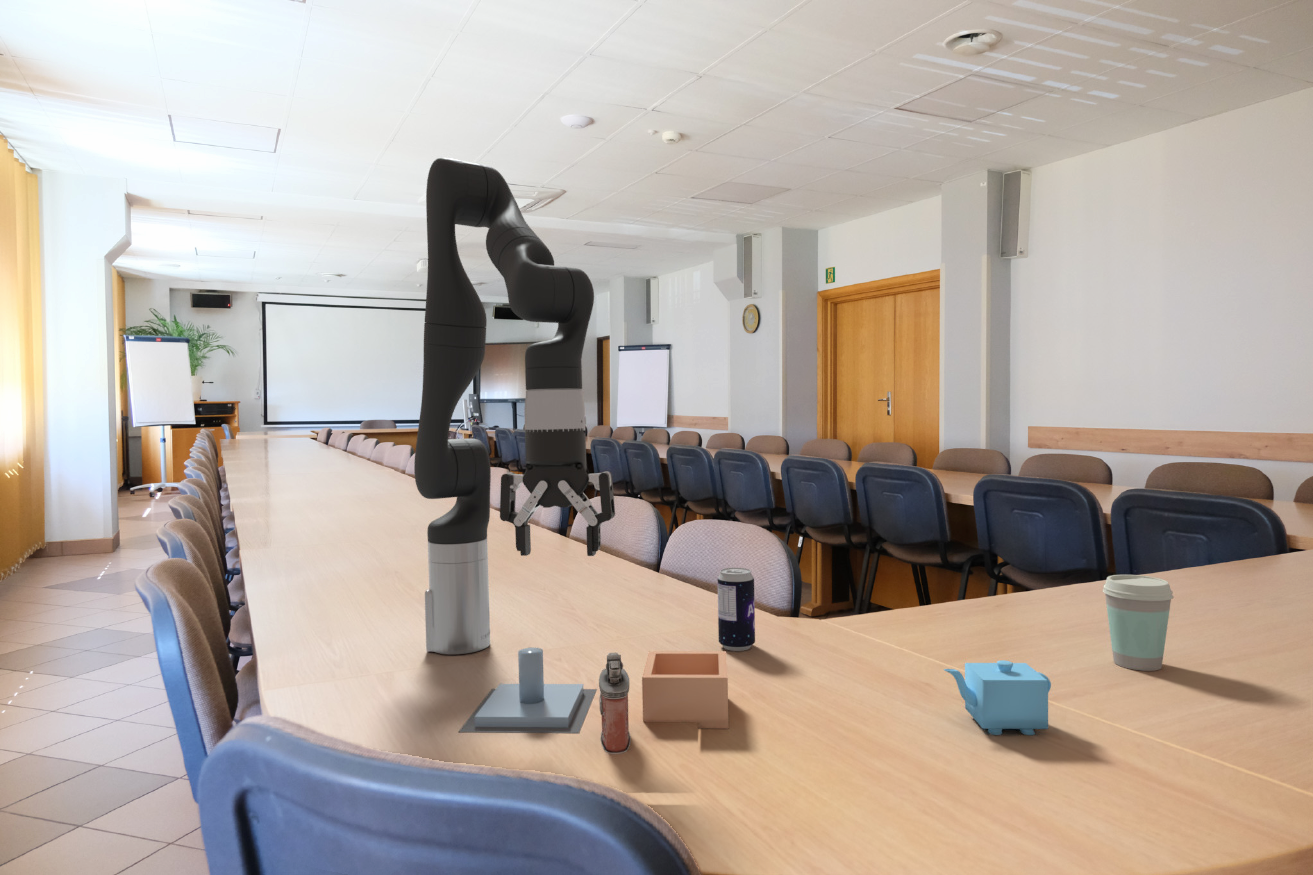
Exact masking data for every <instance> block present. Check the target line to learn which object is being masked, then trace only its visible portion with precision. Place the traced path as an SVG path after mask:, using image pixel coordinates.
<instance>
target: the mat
mask: <svg viewBox="0 0 1313 875" xmlns="http://www.w3.org/2000/svg"><path fill="white" fill-rule="evenodd" d="M495 689H496V688H491V689H490V690H489V691H488V693H487V694H486V696H485V697H484V699H483V700H482V701H481V702H480V703H479V705H478V706H477V707H476V709H475V710H474V711H473V712H472V714H470V716H469V718H468V719H467V720H466V721H465V723H463V725H462V726H461V728H460V729H459V730H458V733H474V734H475V733H480V734H481V733H490V734H491V733H492V734H494V733H495V734H496V733H497V734H498V733H500V734H504V733H505V734H510V733H511V734H580V732H581V729H582V727H583V725H584V722H585V719H586V717H587V714H588V713H589V711H590V710H589V709H590V707H591V705H592V702H593V699H594V697H595V695H596V692H597V688H583V689H584V693H583V696H582V698H581V700H580V702H579V705H578V707H577V709H576V711H575V714H574V716H573V718H572V720H571V723H570V725H569V727H475V716H476V714H477V713H478V712H479V710H480V709H481V708H482V706H483V705H484V704H485V703H486V701H487V700H488V699H489V697H490V696H491V695H492V693H493V692H494V691H495Z"/></svg>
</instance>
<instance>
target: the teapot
mask: <svg viewBox="0 0 1313 875" xmlns="http://www.w3.org/2000/svg"><path fill="white" fill-rule="evenodd" d="M943 671H945V672H947V673H948V674H950V675H951V676H953V677H954V679H955V682H956V685H957V688H958V690H959V691H958V692H959V693H960V694H959V695H960V696H961V698H962V699H963V700H964V708H965V710H966V711H967V712H968V713H969V715H970V716H971V717H972V718H973V719H974V720H975V722H977V724H978V725H979V726H980V728H982V729H984V730H985V729H986V730H987V733H989V735H994V736H1001V735H1002V734H1003V730H1019V731H1020V733H1021V734H1023V735H1024V736H1025V735H1026V736H1034V735H1035V734H1036V732H1035V730H1049V692H1050V690H1051V687H1052V682H1051V680H1050V679H1049V677H1048V676H1047V675H1046V674H1044V673H1043V672H1041V671H1040V672H1039V671H1037V670H1035V669H1034V668H1033V667H1031V665H1029V664H1028V663H1027V662H1013V661H1009V660H997V661H996V662H965V663H964V676H963V674H962V673H961V672H960V670H957V669H955V668H944V669H943Z"/></svg>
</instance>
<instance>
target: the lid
mask: <svg viewBox="0 0 1313 875" xmlns="http://www.w3.org/2000/svg"><path fill="white" fill-rule="evenodd" d="M517 653H518V654H517V655H518V656H517V657H518V683H499V684H498V685H497V687H496V688H494V689H495V691H494V692H493V693H492V695H491V696H490V697H489V699H488V700H487V701H486V703H485V704H484V705H483V706H482V708H481V709H480V710H479V712H478V713H477V714H476V716H475V727H569V725H570V723H571V720H572V718H573V716H574V714H575V711H576V709H577V707H578V705H579V702H580V700H581V698H582V696H583V693H584V689H585V688H584V683H545V679H544V675H545V674H544V650H543V648H540V647H527V648H521V649H519V650H518V651H517Z"/></svg>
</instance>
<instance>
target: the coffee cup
mask: <svg viewBox="0 0 1313 875" xmlns="http://www.w3.org/2000/svg"><path fill="white" fill-rule="evenodd" d="M1102 592H1103V593H1104V595H1105V604H1106V610H1107V611H1106V612H1107V620H1108V628H1109V634H1110V643H1111V644H1110V645H1111V651H1112V659H1113V663H1114V664H1115V665H1117V666H1119V667H1122V668H1124V669H1128V670H1133V671H1134V670H1135V671H1142V672H1153V671H1155V672H1156V671H1159V670H1161V669H1162V666H1163V660H1164V653H1165V645H1166V640H1167V634H1168V632H1167V631H1168V624H1169V618H1170V610H1171V603H1172V602H1171V601H1172V599H1174V598H1175V597H1174V595H1173V594H1174V592H1173V590H1172V589H1171V584H1170V583H1169V581H1167V580H1165V579H1162V578H1159V577H1154V576H1146V575H1137V574H1113V575H1108V576H1107V577H1106V580H1105V583H1104V585H1103V589H1102Z"/></svg>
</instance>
